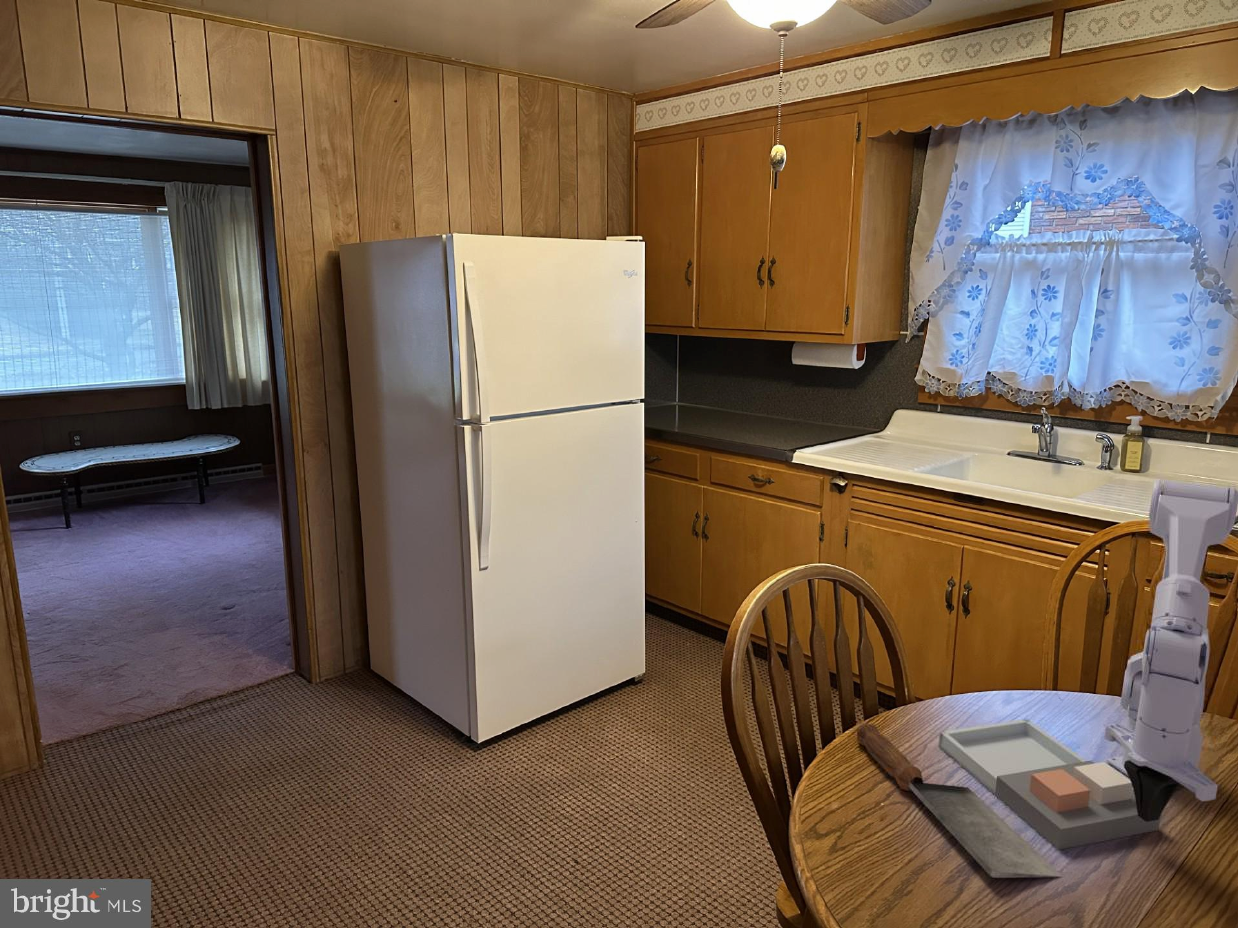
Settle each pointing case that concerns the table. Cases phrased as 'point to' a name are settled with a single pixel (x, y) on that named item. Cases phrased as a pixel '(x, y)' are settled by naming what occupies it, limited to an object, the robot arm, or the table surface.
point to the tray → (1004, 750)
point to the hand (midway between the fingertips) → (1148, 817)
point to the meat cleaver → (961, 815)
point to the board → (1071, 813)
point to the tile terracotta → (1059, 790)
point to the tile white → (1104, 782)
